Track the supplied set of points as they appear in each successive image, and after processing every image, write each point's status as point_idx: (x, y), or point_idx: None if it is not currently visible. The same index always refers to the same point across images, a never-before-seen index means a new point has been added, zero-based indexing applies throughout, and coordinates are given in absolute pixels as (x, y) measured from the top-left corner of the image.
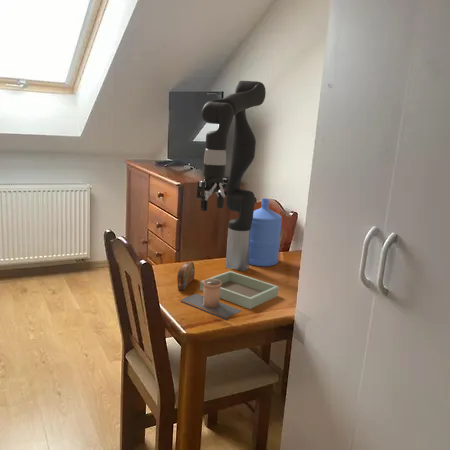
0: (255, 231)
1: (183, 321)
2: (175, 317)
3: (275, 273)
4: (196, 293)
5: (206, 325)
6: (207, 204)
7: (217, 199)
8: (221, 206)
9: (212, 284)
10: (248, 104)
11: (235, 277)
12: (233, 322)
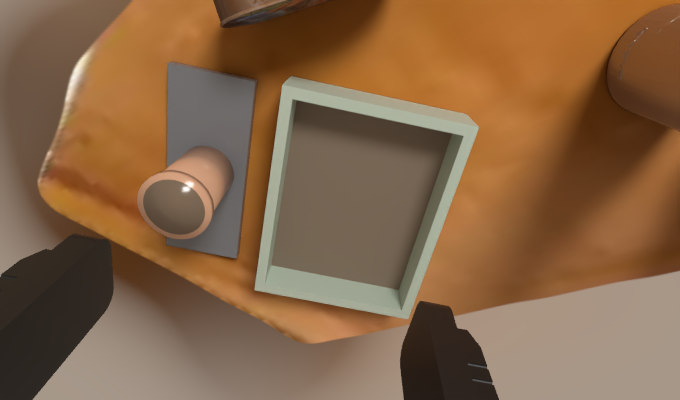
0: None
1: (73, 149)
2: (72, 116)
3: (651, 218)
4: (253, 82)
5: (107, 211)
6: (53, 373)
7: (441, 393)
8: (402, 371)
9: (153, 219)
10: None
11: (451, 156)
12: (175, 256)
